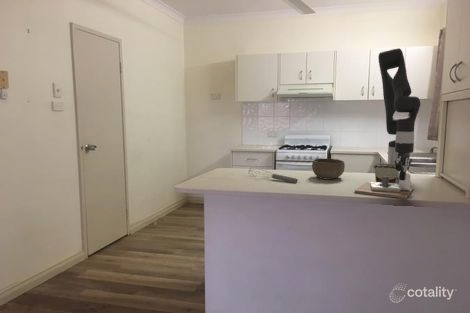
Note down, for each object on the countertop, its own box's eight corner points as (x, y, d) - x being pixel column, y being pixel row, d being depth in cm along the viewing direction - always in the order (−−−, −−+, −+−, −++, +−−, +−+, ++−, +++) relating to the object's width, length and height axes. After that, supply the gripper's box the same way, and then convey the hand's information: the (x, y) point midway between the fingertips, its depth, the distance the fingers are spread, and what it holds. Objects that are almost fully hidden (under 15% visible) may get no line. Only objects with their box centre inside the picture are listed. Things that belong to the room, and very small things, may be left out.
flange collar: (371, 190, 165) (372, 173, 164) (370, 185, 177) (371, 169, 176) (411, 192, 160) (412, 175, 159) (407, 187, 172) (408, 171, 171)
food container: (399, 183, 187) (400, 164, 186) (398, 185, 182) (399, 166, 181) (374, 181, 193) (375, 162, 192) (372, 183, 188) (373, 164, 187)
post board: (366, 184, 184) (366, 171, 184) (413, 189, 172) (414, 175, 172) (354, 192, 166) (355, 178, 165) (406, 199, 154) (407, 183, 153)
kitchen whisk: (297, 185, 185) (297, 172, 185) (245, 177, 207) (245, 166, 206) (303, 183, 190) (303, 171, 189) (252, 176, 212) (252, 165, 211)
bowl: (347, 180, 195) (348, 162, 194) (315, 180, 195) (315, 162, 194) (339, 174, 212) (340, 158, 211) (309, 174, 212) (309, 158, 211)
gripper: (402, 140, 167) (400, 177, 169) (389, 142, 158) (387, 180, 160) (419, 141, 161) (417, 179, 163) (406, 143, 152) (404, 183, 154)
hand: (402, 180), depth 162 cm, fingers closed
